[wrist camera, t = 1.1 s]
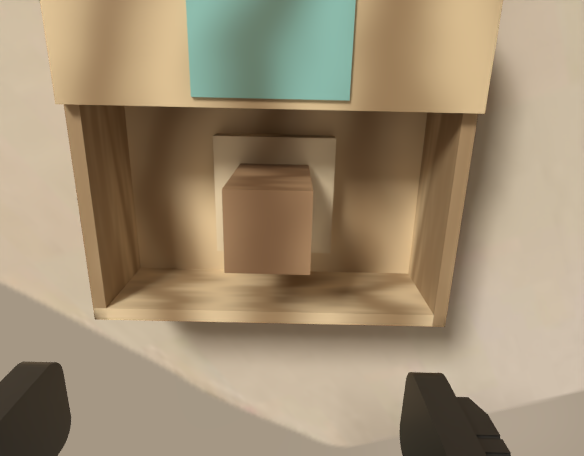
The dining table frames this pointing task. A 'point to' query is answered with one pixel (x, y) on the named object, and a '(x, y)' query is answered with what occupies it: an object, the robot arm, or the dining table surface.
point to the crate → (272, 148)
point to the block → (268, 219)
